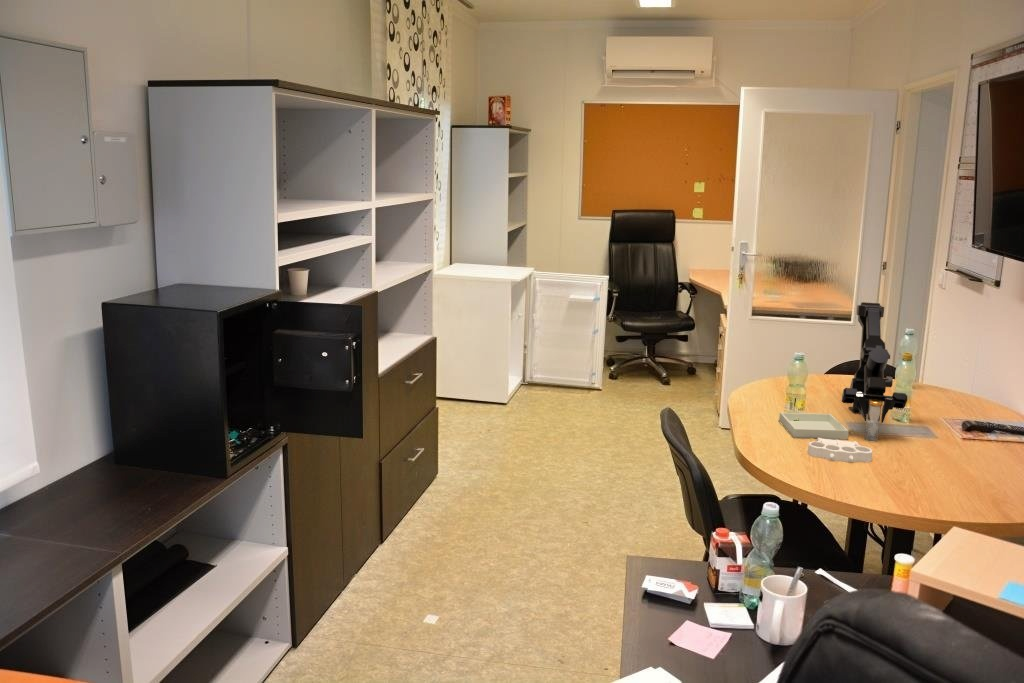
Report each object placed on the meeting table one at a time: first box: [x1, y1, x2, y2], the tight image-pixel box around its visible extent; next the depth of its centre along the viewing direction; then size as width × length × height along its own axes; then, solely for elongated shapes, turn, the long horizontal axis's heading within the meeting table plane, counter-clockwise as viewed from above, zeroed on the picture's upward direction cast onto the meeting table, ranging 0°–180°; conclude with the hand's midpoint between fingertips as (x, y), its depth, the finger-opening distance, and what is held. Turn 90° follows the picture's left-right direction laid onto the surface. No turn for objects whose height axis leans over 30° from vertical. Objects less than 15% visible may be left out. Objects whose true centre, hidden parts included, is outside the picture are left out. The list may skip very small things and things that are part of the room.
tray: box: [778, 411, 850, 440], centre depth 267 cm, size 17×17×3 cm
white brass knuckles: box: [807, 438, 874, 463], centre depth 245 cm, size 3×18×15 cm
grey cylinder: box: [864, 399, 884, 442], centre depth 257 cm, size 4×4×13 cm
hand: (873, 421), depth 256 cm, fingers open, 5 cm apart
